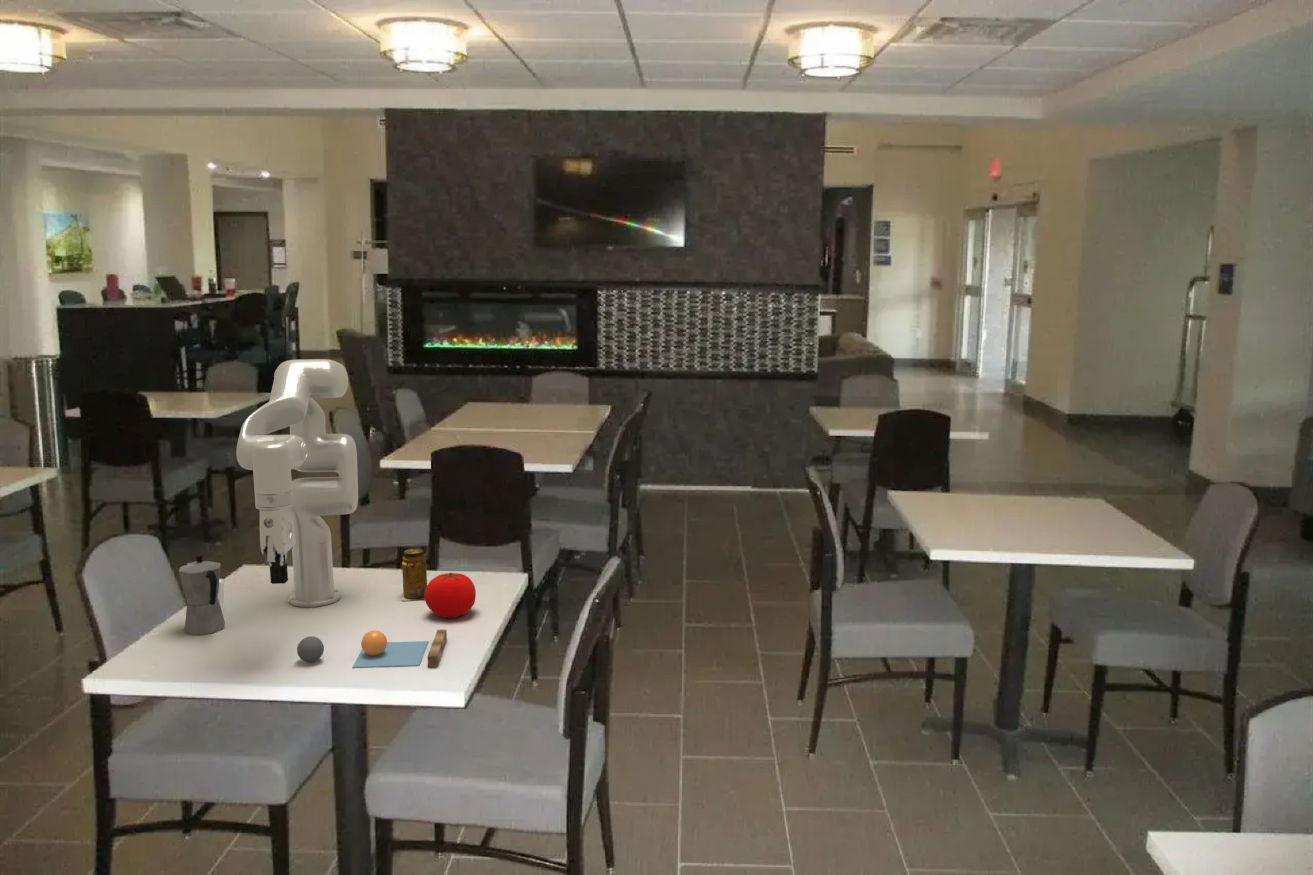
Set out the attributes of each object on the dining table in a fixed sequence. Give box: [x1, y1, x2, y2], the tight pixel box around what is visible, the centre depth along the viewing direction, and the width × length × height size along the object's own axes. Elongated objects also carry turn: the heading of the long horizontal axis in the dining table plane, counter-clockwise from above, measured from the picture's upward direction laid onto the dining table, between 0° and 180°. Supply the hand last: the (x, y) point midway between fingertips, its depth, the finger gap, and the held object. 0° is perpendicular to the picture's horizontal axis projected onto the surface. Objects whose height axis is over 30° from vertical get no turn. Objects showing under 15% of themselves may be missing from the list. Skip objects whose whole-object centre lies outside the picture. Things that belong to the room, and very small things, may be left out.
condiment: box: [400, 548, 428, 602], centre depth 266 cm, size 7×8×12 cm
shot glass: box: [218, 578, 225, 610], centre depth 257 cm, size 7×7×7 cm
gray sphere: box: [296, 636, 325, 663], centre depth 223 cm, size 6×6×6 cm
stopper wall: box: [427, 629, 448, 668], centre depth 228 cm, size 16×2×2 cm, turn 4°
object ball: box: [360, 629, 388, 656], centre depth 227 cm, size 6×6×6 cm
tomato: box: [423, 572, 477, 618], centre depth 252 cm, size 11×12×10 cm
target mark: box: [352, 640, 429, 669], centre depth 227 cm, size 14×14×1 cm
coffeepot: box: [178, 554, 226, 636], centre depth 241 cm, size 15×9×18 cm, turn 43°
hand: (279, 582), depth 223 cm, fingers closed
